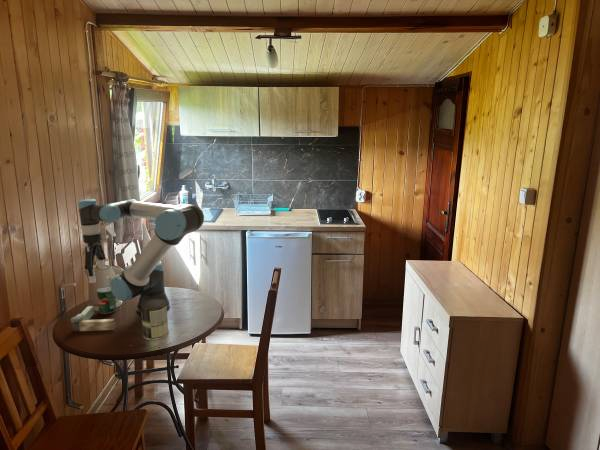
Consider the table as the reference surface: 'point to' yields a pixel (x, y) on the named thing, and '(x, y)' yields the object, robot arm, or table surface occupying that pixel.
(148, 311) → the coffee can
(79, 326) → the tongs fixed arm
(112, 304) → the canned tomato
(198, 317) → the table surface
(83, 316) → the tongs jaw
